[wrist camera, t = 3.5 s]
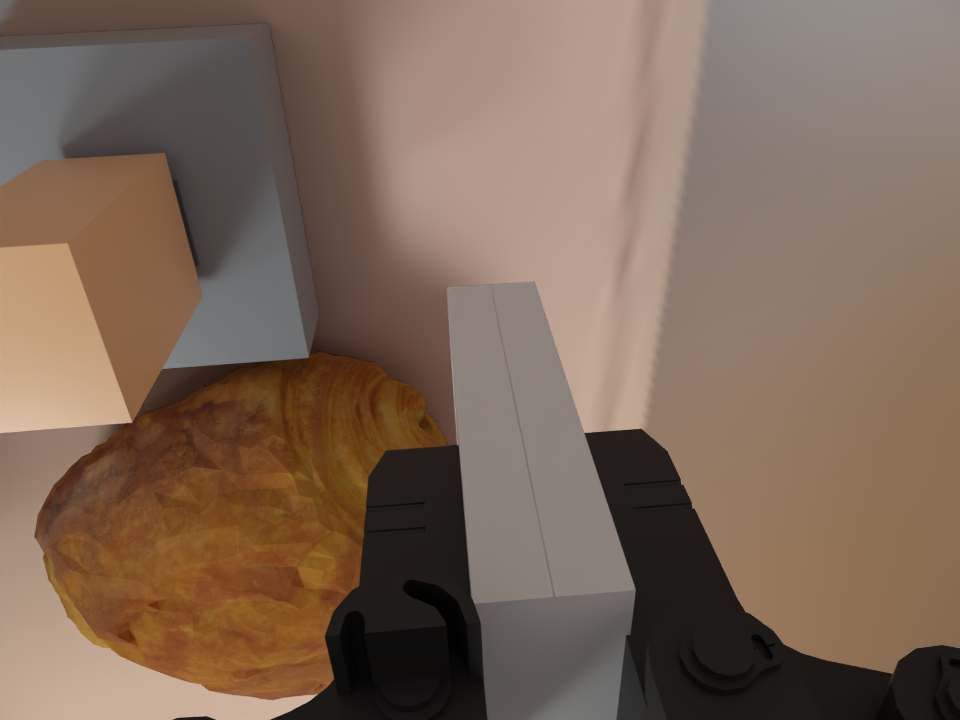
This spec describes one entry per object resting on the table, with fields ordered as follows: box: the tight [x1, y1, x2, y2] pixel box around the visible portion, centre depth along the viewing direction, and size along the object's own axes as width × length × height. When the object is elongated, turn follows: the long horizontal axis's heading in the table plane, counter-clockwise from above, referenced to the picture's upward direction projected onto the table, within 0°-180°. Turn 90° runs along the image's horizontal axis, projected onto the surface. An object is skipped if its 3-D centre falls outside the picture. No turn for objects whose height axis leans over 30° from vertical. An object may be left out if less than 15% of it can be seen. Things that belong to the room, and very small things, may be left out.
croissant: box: [34, 352, 448, 700], centre depth 26 cm, size 14×16×8 cm
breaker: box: [0, 153, 203, 433], centre depth 16 cm, size 3×4×6 cm
